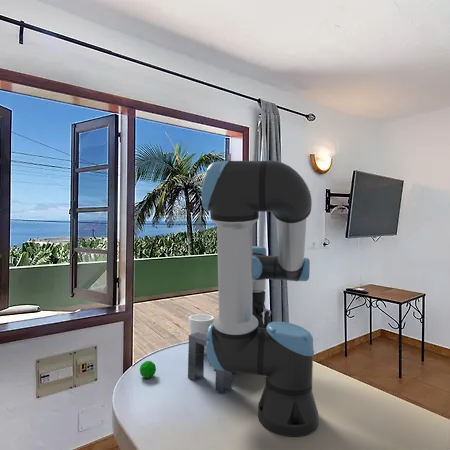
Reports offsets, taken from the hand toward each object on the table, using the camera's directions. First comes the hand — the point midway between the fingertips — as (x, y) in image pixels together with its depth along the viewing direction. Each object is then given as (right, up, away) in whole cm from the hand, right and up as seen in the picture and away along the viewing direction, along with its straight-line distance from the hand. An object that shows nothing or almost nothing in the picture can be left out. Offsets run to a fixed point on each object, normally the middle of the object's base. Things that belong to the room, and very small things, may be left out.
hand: (252, 354), depth 122 cm
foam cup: (-19, -2, +7) cm, 20 cm away
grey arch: (-15, -2, -18) cm, 23 cm away
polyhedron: (-34, -2, -14) cm, 37 cm away
